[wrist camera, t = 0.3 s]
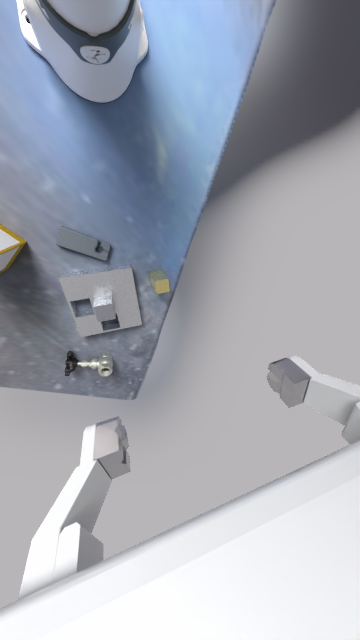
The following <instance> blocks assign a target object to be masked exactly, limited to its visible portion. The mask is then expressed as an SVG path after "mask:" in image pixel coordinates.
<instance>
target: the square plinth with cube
mask: <svg viewBox="0 0 360 640" xmlns="http://www.w3.org/2000/svg"><path fill="white" fill-rule="evenodd" d="M59 281H60V283H61V286H62V289H63V291H64V294H65V297H66V299H67V302H68V305H69V307H70V310H71V313H72V315H73V318H74V321H75V323H76V326H77V328H78V331H79V334H80V336H81V337H85V336H90V335H95V334H100V333H104V332H109V331H114V330H119V329H124V328H129V327H134V326H139V325H142V322H141V316H140V311H139V305H138V300H137V294H136V289H135V283H134V278H133V272H132V267H131V265H124V266H117V267H110V268H103V269H95V270H88V271H81V272H73V273H66V274H61V275H60V277H59ZM88 298H90V302H91V305H92V308H93V310H87V311H82V312H77V310H76V307H75V305H74V302H73V301H76V300H82V299H88ZM116 313H117V316H118V320H119V323H114V324H108V325H103V321H107V320H112V319H116V316H115V314H116Z"/></svg>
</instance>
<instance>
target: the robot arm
mask: <svg viewBox="0 0 360 640" xmlns="http://www.w3.org/2000/svg"><path fill="white" fill-rule="evenodd" d="M17 7H18V14H19V20H20V27H21V31H22V34H23V36H24V38H25V40H26V42H27V43H28V44H29V45H30V46H31V47H32V48H33V49H34V50H36V51H37V52H38V53H39V54H41V55H42V56H43V57H45V58H46V59H47V61H48V62H49V63H50V64H51V66H52V67H53V68H54V70H55V71H56V73H57V74H58V75H59V77H60V78H61V79H62V80H63V81H64V83H65V84H66V85H67V86H68V87H69V88H70V89H72V90H73V91H74V92H75V93H77V94H78V95H80V96H81V97H83V98H85V99H88V100H90V101H94V102H100V103H102V102H110V101H113V100H115V99H116V98H118V97H119V96H121V95H122V94H123V93H124V91H125V90H126V89H127V87H128V85H129V83H130V81H131V79H132V76H133V73H134V70H135V68H136V66H137V64H138V63H139V62H140V61H141V60H142V59H143V58H144V57H145V56H146V54H147V51H148V39H147V34H146V29H145V25H144V20H143V12H142V9H141V6H140V1H139V0H17ZM27 18H28V19H29V21H30V24H29V23H27ZM268 369H269V370H270V372H269V373H268V376H267V380H268V383H269V385H270V387H271V388H272V389H273V390H274V391H275V392H278V393H280V398H281V399H282V400H283V401H284V403H285V404H286V405H287V406H288V407H289V408H290V407H293V406H295V405H298V404H301V403H304V404H305V405H307V406H309V407H311V408H313V409H315V410H317V411H318V412H320V413H322V414H324V415H326V416H328V417H330V418H332V419H333V420H335V421H337V422H339V423H341V424H343V425H345V427H344V429H343V431H342V436H343V438H345V440H346V441H347V442H349V444H350V445H348V446H346V447H344V448H342V449H340V450H338V451H336V452H333V453H331V454H329V455H327V456H325V457H323V458H321V459H319V460H316V461H314V462H312V463H310V464H308V465H306V466H304V467H301V468H299V469H297V470H295V471H293V472H291V473H289V474H286V475H285V476H282V477H280V478H278V479H276V480H274V481H272V482H269V483H267V484H265V485H263V486H261V487H259V488H257V489H254V490H252V491H251V492H248V493H246V494H244V495H242V496H240V497H237V498H235V499H233V500H231V501H229V502H227V503H225V504H222V505H220V506H218V507H216V508H214V509H212V510H210V511H208V512H205V513H203V514H201V515H199V516H197V517H195V518H193V519H190V520H188V521H186V522H184V523H182V524H180V525H178V526H176V527H173V528H171V529H169V530H167V531H165V532H163V533H161V534H159V535H157V536H154V537H152V538H150V539H148V540H146V541H143V542H141V543H139V544H137V545H135V546H133V547H131V548H128V549H127V550H125V551H122V552H120V553H118V554H116V555H114V556H112V557H109V558H107V559H105V560H103V544H102V543H101V542H100V541H99V540H98V539H97V538H95V537H94V536H93V535H92V534H91V533H92V530H93V528H94V525H95V523H96V520H97V517H98V515H99V512H100V510H101V507H102V505H103V502H104V500H105V497H106V495H107V492H108V489H109V487H110V484H111V482H112V480H111V479H113V478H116V477H118V476H121V475H123V474H125V473H128V472H130V458H129V454H128V452H127V448H128V437H127V433H126V429H125V427H124V426H123V425H122V424H121V419H120V417H116V418H113V419H109V420H106V421H103V422H100V423H97V424H94V425H91V426H88V427H86V428H85V430H84V434H83V444H82V451H81V460H80V466H78V467H76V469H75V470H74V472H73V474H72V475H71V477H70V479H69V480H68V482H67V483H66V485H65V487H64V488H63V490H62V492H61V493H60V495H59V497H58V498H57V500H56V501H55V503H54V505H53V507H52V508H51V510H50V511H49V513H48V514H47V516H46V518H45V519H44V521H43V523H42V524H41V526H40V528H39V529H38V531H37V532H36V534H35V536H34V537H33V539H32V542H31V546H30V551H29V555H28V560H27V564H26V568H25V572H24V577H23V581H22V585H21V589H20V594H19V598H18V600H17V601H16V602H13V603H11V604H9V605H7V606H5V607H3V608H0V640H360V386H359V385H356V384H353V383H350V382H347V381H344V380H341V379H338V378H335V377H332V376H328V375H326V374H320V373H318V372H317V371H316V370H315V369H313V368H312V367H311V366H310V365H308V364H307V363H306V362H305V361H303V360H302V359H300V358H299V357H298V356H296V355H293V356H290V357H287V358H284V359H281V360H278V361H275V362H273V363H270V364H269V368H268Z"/></svg>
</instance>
